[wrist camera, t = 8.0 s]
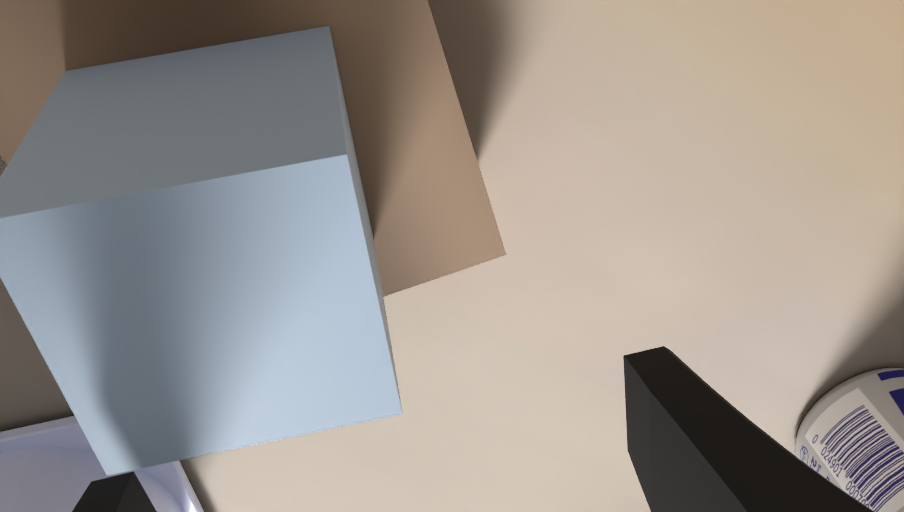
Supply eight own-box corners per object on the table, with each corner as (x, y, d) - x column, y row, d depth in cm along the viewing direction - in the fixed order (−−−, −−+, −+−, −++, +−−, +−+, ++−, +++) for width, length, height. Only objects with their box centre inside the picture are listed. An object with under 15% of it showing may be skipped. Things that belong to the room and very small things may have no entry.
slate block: (151, 284, 16) (106, 475, 12) (65, 71, 14) (-29, 223, 10) (373, 240, 17) (403, 414, 13) (329, 25, 14) (346, 154, 10)
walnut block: (174, 270, 21) (154, 374, 18) (-14, -36, 16) (-89, 28, 13) (470, 168, 21) (506, 254, 17) (364, -169, 16) (384, -139, 13)
